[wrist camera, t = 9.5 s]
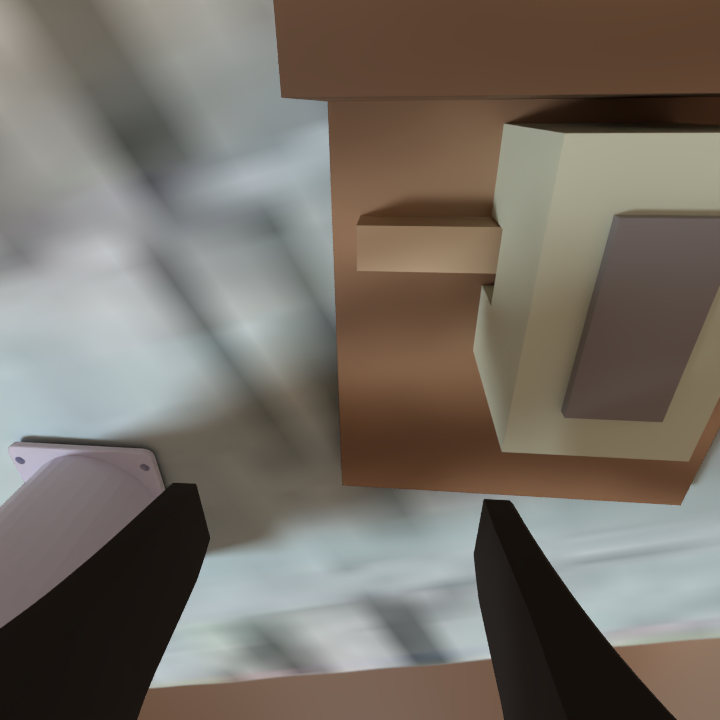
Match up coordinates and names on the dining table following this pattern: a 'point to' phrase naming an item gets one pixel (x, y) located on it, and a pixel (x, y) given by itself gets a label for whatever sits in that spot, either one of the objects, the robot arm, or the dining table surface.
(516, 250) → the cabinet block
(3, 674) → the robot arm
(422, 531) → the dining table surface
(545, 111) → the wall board
